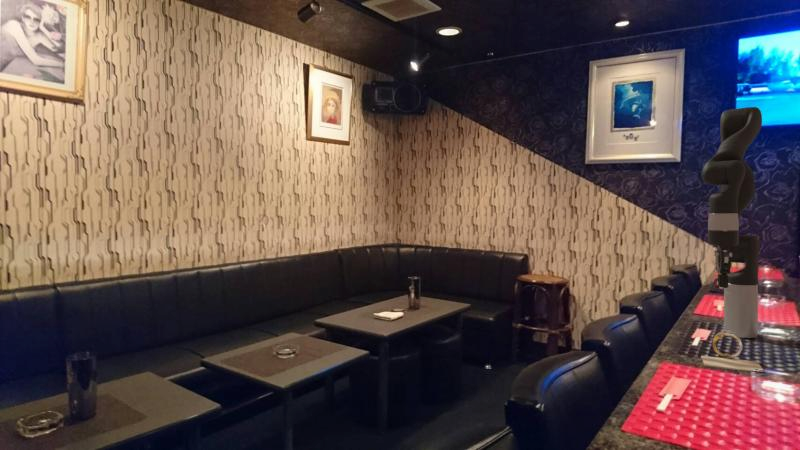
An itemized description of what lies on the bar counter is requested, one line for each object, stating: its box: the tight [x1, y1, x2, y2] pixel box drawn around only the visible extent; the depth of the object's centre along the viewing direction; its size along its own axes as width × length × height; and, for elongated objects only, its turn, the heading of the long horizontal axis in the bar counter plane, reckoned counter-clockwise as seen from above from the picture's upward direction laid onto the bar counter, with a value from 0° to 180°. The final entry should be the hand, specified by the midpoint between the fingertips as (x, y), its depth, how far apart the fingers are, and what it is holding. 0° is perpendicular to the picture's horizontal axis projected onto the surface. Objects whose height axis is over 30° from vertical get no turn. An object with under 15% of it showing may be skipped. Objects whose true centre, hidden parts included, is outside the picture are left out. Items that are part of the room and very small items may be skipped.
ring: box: [712, 329, 743, 359], centre depth 136 cm, size 7×3×8 cm, turn 54°
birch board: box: [700, 355, 764, 373], centre depth 130 cm, size 9×13×1 cm
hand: (722, 286), depth 143 cm, fingers closed
